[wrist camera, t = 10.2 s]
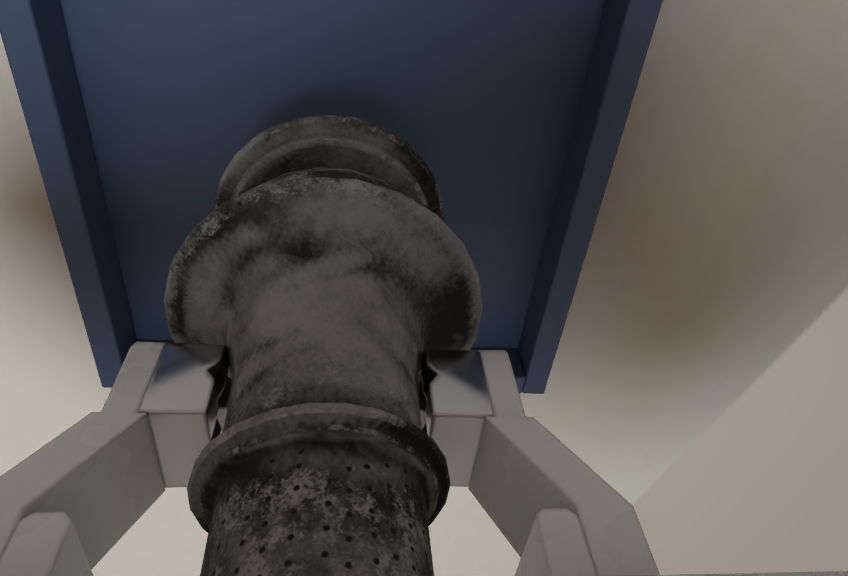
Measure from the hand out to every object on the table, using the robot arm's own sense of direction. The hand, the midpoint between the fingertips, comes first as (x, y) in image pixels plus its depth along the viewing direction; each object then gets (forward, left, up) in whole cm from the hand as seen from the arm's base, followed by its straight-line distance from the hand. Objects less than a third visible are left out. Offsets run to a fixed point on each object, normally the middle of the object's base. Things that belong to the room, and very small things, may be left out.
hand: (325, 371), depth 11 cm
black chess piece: (0, 0, -5) cm, 5 cm away
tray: (0, 0, -9) cm, 9 cm away
